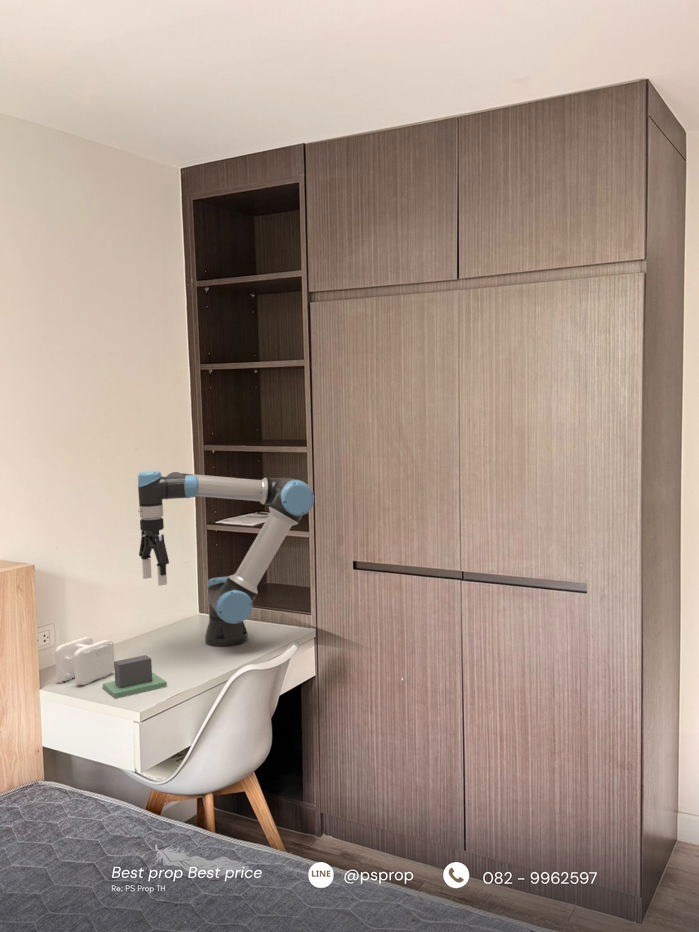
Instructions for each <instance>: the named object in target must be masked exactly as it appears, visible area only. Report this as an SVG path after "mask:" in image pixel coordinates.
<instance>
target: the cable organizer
mask: <svg viewBox="0 0 699 932" xmlns="http://www.w3.org/2000/svg"><path fill="white" fill-rule="evenodd" d="M114 648H115V647H114V641H113V640H110V639H104V640H100V641H98V642H94V639H93V638H92V637H89V636H84V637H81V638H79V639H75V640H73V641H70V642H66V643H64V644H63V643H62V644H60V645H59V646H57V647H56V648H55V651H54V652H55V653H54V655H55V657H54V658H55V659H54V660H55V672H56V674H55V677H56V679H57V680H58V681H62V682H63V681H66V682H68V681H67V680H69V681H71V680H73V679H74V682H75V683H76V684H77V685H78V684H79V685H82V686H86V685H89V684H92V682H93V681H96V680H99V679H100V680H101V679H103V677H104V678H106V677H108V675H111V674H113V672H115V671H114V661H115V649H114ZM72 678H73V679H72ZM70 679H71V680H70Z"/></svg>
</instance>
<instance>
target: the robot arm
mask: <svg viewBox="0 0 699 932" xmlns="http://www.w3.org/2000/svg"><path fill="white" fill-rule="evenodd" d="M137 480H138V481H137V483H138V484H137V491H138V502H139V503H138V504H139V505H138V506H139V509H138V513H139V518H140V520H139V528H140V531H141V533H140V534H141V538H140V546H139V551H138V553H139V554H138V555H139V556H138V557H140V558H141V561H142V567H141V568H142V579H143V580H147V579H152V563H151V562H152V561H151V560H152V559H151V558H152V556H151V553H152V550H153V552H154V555H155V557H156V562H157V564H156V567H157V569H156V570H157V583H158V584H157V585H158V586H166V585H168V580H167V579H168V577H167V574H168V573H167V565H169V564H170V561H169V560H170V559H169V556H168V552H167V551H168V550H167V547H166V543H165V535H164V534H160V531H162V530H164V528H165V526H164V523H165V522H164V518H163V516H164V504H163V500H172V499H173V500H174V499H191V498H197V497H201V498H202V497H203V498H214V499H215V498H217V499H226V500H228V499H229V500H241V501H253V502H260V503H261V505H267V506H268V509H269V515H268V517H267V518H266V520H265V522H263V523H264V524H263V525H262V527H261V529H260V530H259V533H258V534H257V536H256V537H255V540H254V541H253V543H252V544H251V546H250V547H249V549H248V551H247V552H246V555H245V556H244V558H243V560H242V561H241V563H240V565H239V567H238V568H237V570H236V572H235V573H234V574H231V575H228V576H220V577H219V576H218V577H212V578H210V579H208V581H207V587H206V588H207V595H208V599H207V600H208V616H209V618H208V624H207V627H206V628H207V629H206V632H205V635H204V639H205V640H204V642H205V643H206V644H207V645H209V646H213V647H230V646H236V645H237V646H238V645H240V644H243V643H245V642H247V641H248V639H249V637H248V636H249V635H248V634H249V633H248V631H247V627H246V625H245V622H244V621H246V620H247V619H248V618H249V617H250V615H251V613H252V611H253V603H254V601H255V599H256V597H257V596H258V593H259V592H258V591H259V590H258V585H259V583H260V582H261V579H262V578H263V576H264V575H265V573H266V571H267V569H268V568H269V566H270V564H271V562H272V561H273V559H274V557H275V556H276V554H277V553H278V550H279V549H280V547H281V545H282V544H283V541H285V538H286V536H287V535H288V533H289V531H290V530H291V527H293V526H295V525H298V524H299V523H300V521H301V519H302V518H303V516H304V515H306V514H307V513H308V512H310V511H311V509H312V508H313V506H314V502H315V496H314V491H313V489H312V488H311V487H310V485H309V484H307V483H306V482H305V481H302V480H300V479H296V478H293V477H278V478H277V477H275V478H273V477H263V478H262V479H253V478H252V479H250V478H237V477H231V476H230V477H229V476H228V477H227V476H216V475H205V474H192V473H191V474H190V473H183V472H182V473H181V472H179V471H173V472H170V473H168V474H167V475H165V476H163V475H162V472H161V471H159V470H149V471H147V470H146V471H141V472H139V473H138V475H137Z"/></svg>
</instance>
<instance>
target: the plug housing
mask: <svg viewBox="0 0 699 932" xmlns="http://www.w3.org/2000/svg"><path fill="white" fill-rule="evenodd" d="M152 664H153V663H152V657H150V656H148V655H147V654H145V655H139V656H133V657H130V658H125V659H120V660H114V671H113V672H114V681H115V684H116V685H117V686H118V687H119V688H123V687H128V686H132V685H136V684H141V683H145V682H150V681H152V673H153V665H152Z"/></svg>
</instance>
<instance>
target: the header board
mask: <svg viewBox="0 0 699 932" xmlns="http://www.w3.org/2000/svg"><path fill="white" fill-rule="evenodd" d="M166 686H167V687H168V684H167V681H166V680H165V679H164V678H162V677H161V676H159V675H158V674H156V673H155V672H152V681H150V682H145V683H141V684H136V685H132V686H128V687H123V688H119V687H118V686H117V685H116V684H115V680H113V681H109V682H104V683H102V689H103V690H104V691H105V690H106V691H105V692H106V693H108V694H109V695H110V694H111V695H112V696H111V695H110V696H111V697H113V698H114V699H119V698H123V696H124V697H128V696H132V695H137V694H140V693H145V692H149V691H153V690H157V689H162V687H163V688H166ZM131 694H132V695H131ZM127 695H128V696H127Z"/></svg>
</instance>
